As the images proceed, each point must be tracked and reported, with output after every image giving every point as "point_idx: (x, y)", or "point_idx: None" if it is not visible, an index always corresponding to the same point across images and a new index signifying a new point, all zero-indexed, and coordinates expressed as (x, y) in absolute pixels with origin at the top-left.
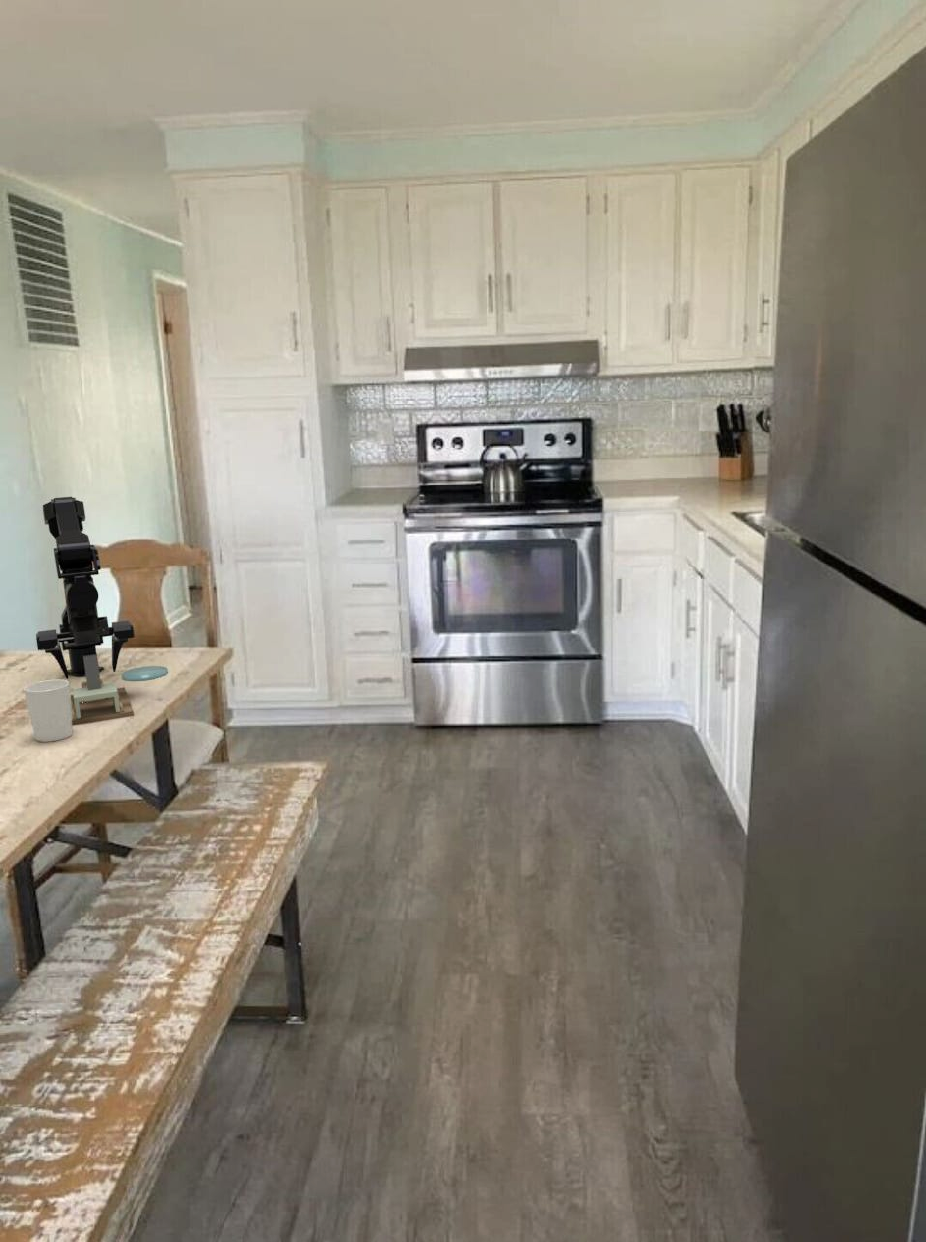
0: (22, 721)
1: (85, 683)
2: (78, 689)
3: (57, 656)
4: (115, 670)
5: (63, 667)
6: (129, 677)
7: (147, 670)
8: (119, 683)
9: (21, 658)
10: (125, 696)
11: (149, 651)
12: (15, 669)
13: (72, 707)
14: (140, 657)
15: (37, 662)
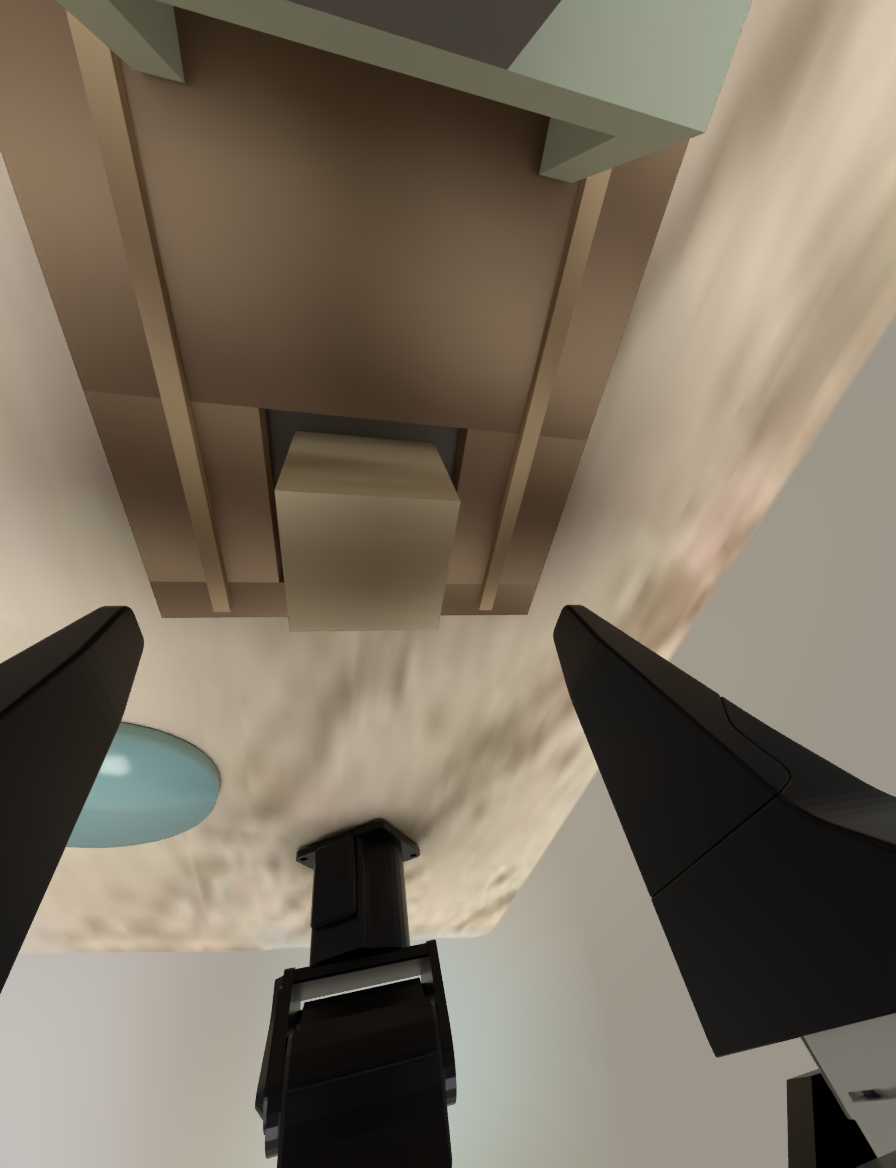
0: (815, 348)
1: (419, 581)
2: (661, 11)
3: (853, 796)
4: (93, 612)
5: (662, 673)
6: (168, 758)
7: (87, 811)
8: (227, 728)
9: (482, 918)
10: (103, 376)
11: (152, 937)
12: (516, 879)
13: (566, 288)
14: (175, 910)
15: (460, 902)
